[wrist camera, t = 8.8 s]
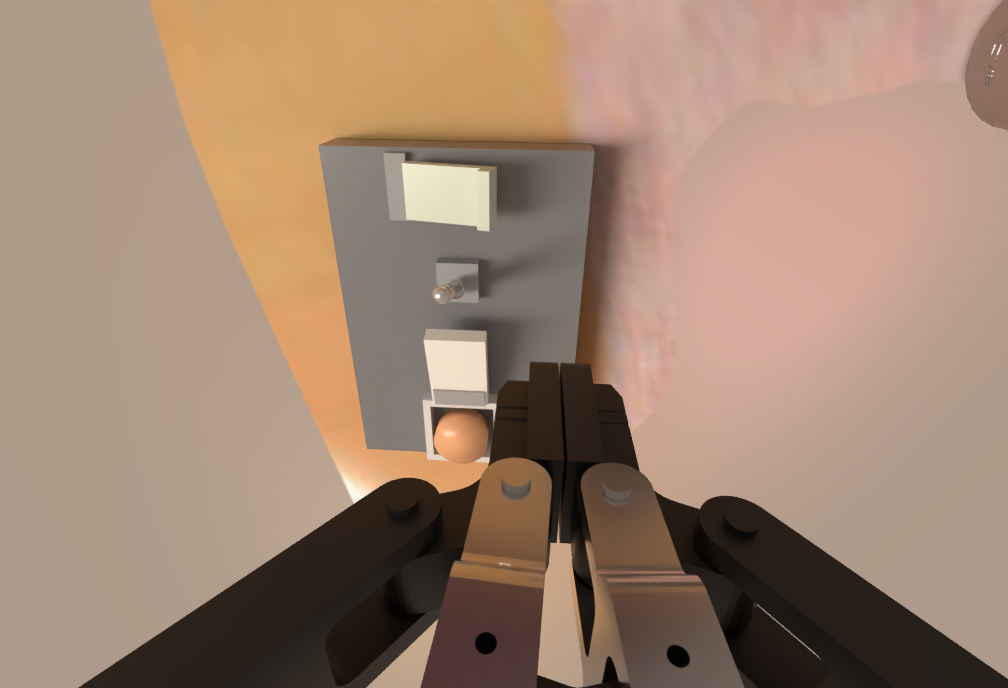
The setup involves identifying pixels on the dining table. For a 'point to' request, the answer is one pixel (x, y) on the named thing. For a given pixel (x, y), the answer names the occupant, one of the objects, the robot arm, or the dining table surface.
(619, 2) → the dining table surface
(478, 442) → the push button
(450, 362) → the rocker switch
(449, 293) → the toggle lever
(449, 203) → the paddle switch
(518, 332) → the control panel
